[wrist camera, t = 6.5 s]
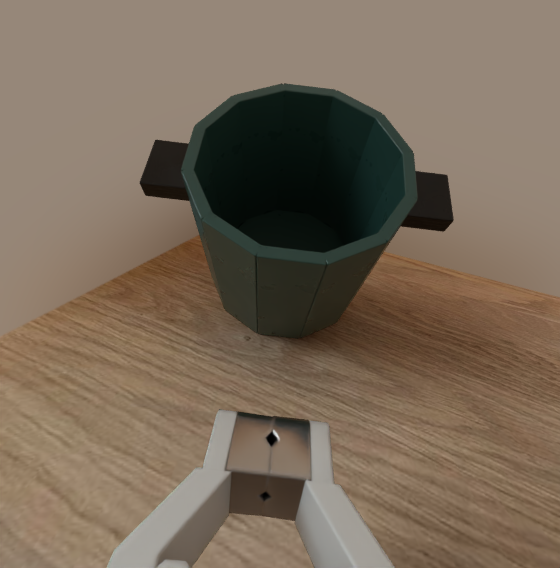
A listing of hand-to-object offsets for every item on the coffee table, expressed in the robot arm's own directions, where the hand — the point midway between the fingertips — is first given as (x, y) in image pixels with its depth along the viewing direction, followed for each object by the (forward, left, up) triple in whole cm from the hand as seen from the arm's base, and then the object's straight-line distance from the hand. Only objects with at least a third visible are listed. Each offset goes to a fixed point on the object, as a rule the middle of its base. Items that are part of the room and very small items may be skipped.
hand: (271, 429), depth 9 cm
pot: (0, +17, -4) cm, 18 cm away
